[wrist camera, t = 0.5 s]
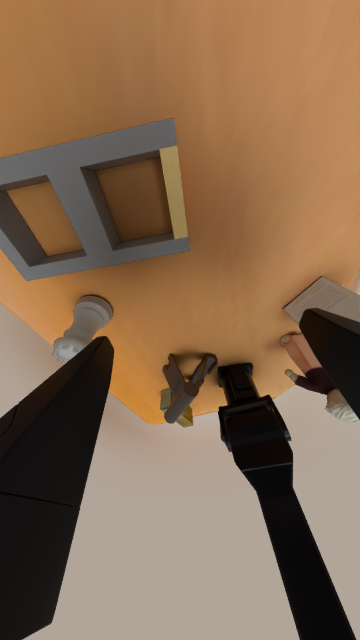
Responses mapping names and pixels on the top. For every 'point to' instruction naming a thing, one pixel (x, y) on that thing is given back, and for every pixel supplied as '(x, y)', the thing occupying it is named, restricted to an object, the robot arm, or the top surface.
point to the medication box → (166, 400)
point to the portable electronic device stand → (185, 385)
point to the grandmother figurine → (316, 377)
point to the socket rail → (90, 200)
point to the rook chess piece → (83, 326)
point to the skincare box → (326, 300)
